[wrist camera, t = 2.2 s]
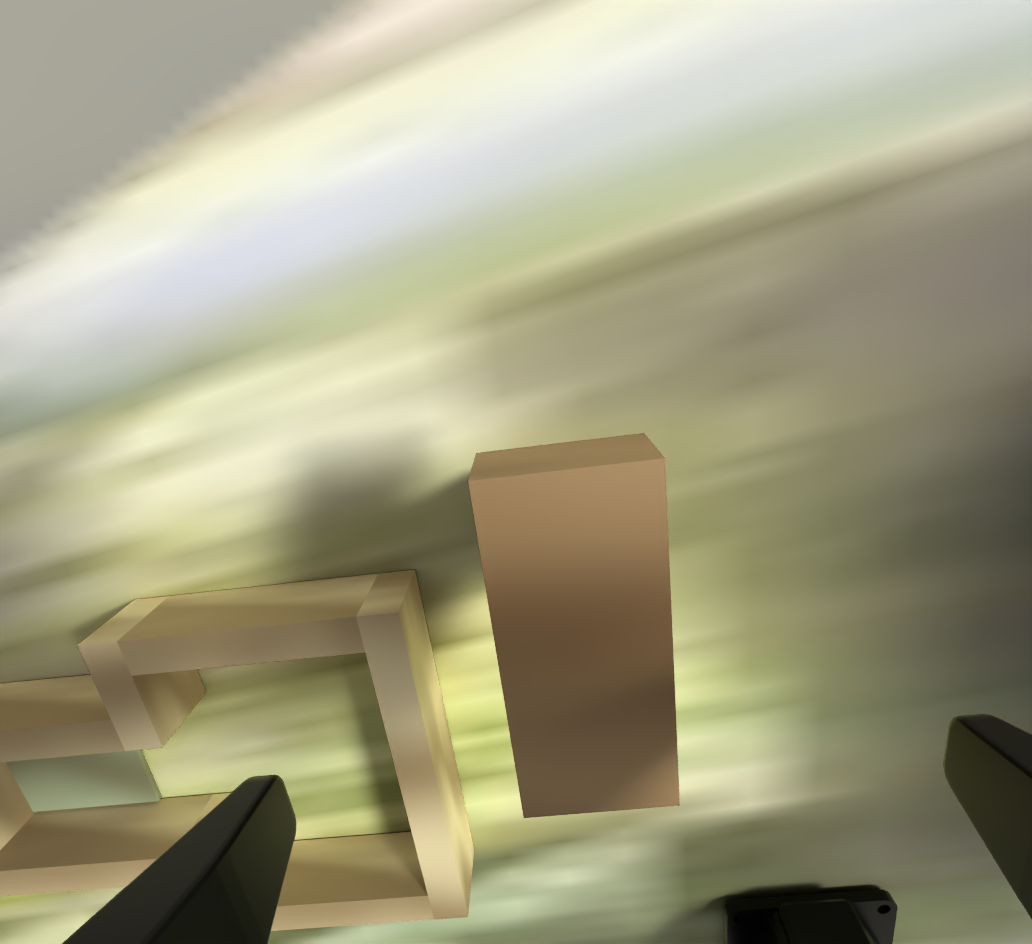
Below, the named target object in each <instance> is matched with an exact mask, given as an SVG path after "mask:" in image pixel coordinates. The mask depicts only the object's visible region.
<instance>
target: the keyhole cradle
mask: <svg viewBox="0 0 1032 944" xmlns="http://www.w3.org/2000/svg"><path fill="white" fill-rule="evenodd" d="M77 646H78V649H79V651H80V653H81V655H82V657H83V659H84V662H85V664H86V666H87V668H88V670H89V673H90V675H82V676H72V677H62V678H52V679H42V680H32V681H22V682H12V683H2V684H0V896H13V895H26V894H39V893H53V892H66V891H79V890H92V889H105V888H119V887H126V886H127V885H128V884H130V883H131V882H132V881H133V880H134V879H135V878H136V877H137V876H138V875H140V874H141V873H142V872H143V871H144V870H145V869H146V868H147V867H149V866H150V865H151V864H152V863H153V862H154V861H155V860H156V859H158V858H159V857H160V856H161V855H162V854H163V853H164V852H165V851H167V850H168V849H169V848H170V847H171V846H172V845H173V844H174V843H175V842H177V841H178V840H179V839H180V838H181V837H182V836H183V835H184V834H186V833H187V832H188V831H189V830H190V829H191V828H192V827H193V826H195V825H196V824H197V823H198V822H199V821H200V820H201V819H202V818H204V817H205V816H206V815H207V814H208V813H209V812H210V811H211V810H212V809H214V808H215V807H216V806H217V805H218V804H219V803H220V802H221V801H223V800H224V799H225V798H226V797H227V796H228V795H229V794H230V793H222V794H210V795H198V796H187V797H175V798H163V799H160V798H161V797H162V796H161V794H160V792H159V789H158V787H157V785H156V783H155V780H154V778H153V776H152V774H151V771H150V769H149V767H148V765H147V762H146V760H145V758H144V756H143V753H142V751H141V750H143V749H154V748H163V746H164V745H165V744H166V743H167V741H168V740H169V739H170V738H171V736H172V735H173V734H174V732H175V731H176V730H177V729H178V727H179V726H180V725H181V724H182V722H183V721H184V720H185V719H186V717H187V716H188V715H189V714H190V712H191V711H192V710H193V708H194V707H195V706H196V705H197V703H198V702H199V701H200V700H201V698H202V697H203V696H204V695H205V693H206V691H205V689H204V686H203V683H202V681H201V678H200V675H199V673H198V670H197V669H205V668H215V667H225V666H235V665H245V664H256V663H266V662H276V661H286V660H296V659H306V658H316V657H326V656H336V655H347V654H357V653H366V657H367V661H368V665H369V669H370V673H371V677H372V680H373V684H374V688H375V692H376V696H377V700H378V704H379V708H380V711H381V715H382V719H383V723H384V727H385V731H386V735H387V739H388V743H389V746H390V750H391V754H392V758H393V762H394V766H395V770H396V774H397V777H398V781H399V785H400V789H401V793H402V797H403V801H404V805H405V808H406V812H407V816H408V820H409V824H410V828H411V832H401V833H389V834H376V835H363V836H351V837H338V838H326V839H313V840H300V841H294V843H293V847H292V851H291V855H290V859H289V862H288V866H287V870H286V874H285V878H284V882H283V886H282V890H281V894H280V898H279V901H278V905H277V909H276V913H275V917H274V921H273V925H272V929H271V931H276V930H290V929H304V928H318V927H333V926H347V925H361V924H376V923H390V922H404V921H419V920H433V919H447V918H461V917H468V910H469V899H470V888H471V877H472V867H473V856H474V847H473V842H472V837H471V833H470V828H469V823H468V818H467V814H466V809H465V804H464V799H463V795H462V790H461V785H460V780H459V776H458V771H457V766H456V761H455V757H454V752H453V747H452V742H451V738H450V733H449V728H448V723H447V719H446V714H445V709H444V705H443V700H442V695H441V690H440V686H439V681H438V676H437V671H436V667H435V662H434V657H433V652H432V648H431V643H430V638H429V633H428V629H427V624H426V619H425V614H424V610H423V605H422V600H421V595H420V591H419V586H418V581H417V576H416V572H415V570H407V571H398V572H389V573H379V574H370V575H361V576H351V577H342V578H333V579H323V580H314V581H305V582H295V583H286V584H277V585H267V586H258V587H249V588H239V589H230V590H221V591H211V592H202V593H193V594H183V595H174V596H165V597H155V598H146V599H137V600H133V601H132V602H131V603H130V604H128V605H127V606H126V607H125V608H123V609H122V610H121V611H120V612H118V613H117V614H116V615H115V616H113V617H112V618H111V619H110V620H108V621H107V622H106V623H104V624H103V625H102V626H101V627H99V628H98V629H97V630H96V631H94V632H93V633H92V634H91V635H89V636H88V637H87V638H86V639H84V640H83V641H82V642H81V643H79V644H78V645H77Z"/></svg>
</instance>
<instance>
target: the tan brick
mask: <svg viewBox="0 0 1032 944" xmlns="http://www.w3.org/2000/svg"><path fill="white" fill-rule="evenodd" d="M468 484H469V490H470V496H471V502H472V508H473V514H474V520H475V526H476V532H477V538H478V544H479V550H480V556H481V562H482V568H483V574H484V580H485V586H486V593H487V599H488V605H489V611H490V617H491V623H492V629H493V635H494V641H495V647H496V653H497V659H498V665H499V671H500V677H501V683H502V689H503V695H504V701H505V707H506V713H507V719H508V725H509V731H510V737H511V743H512V749H513V755H514V761H515V767H516V773H517V779H518V785H519V791H520V798H521V804H522V810H523V816H524V818H530V817H542V816H555V815H567V814H579V813H592V812H604V811H617V810H629V809H641V808H654V807H666V806H679V805H680V803H679V779H678V756H677V732H676V709H675V685H674V662H673V638H672V614H671V591H670V567H669V544H668V520H667V496H666V473H665V458H664V457H663V455H662V454H661V453H660V452H659V451H658V449H657V448H656V447H655V446H654V445H653V443H652V442H651V441H650V440H649V439H648V437H647V436H646V435H645V434H644V433H641V434H633V435H624V436H616V437H607V438H599V439H591V440H582V441H574V442H565V443H557V444H549V445H540V446H532V447H523V448H515V449H506V450H498V451H490V452H481V453H476V456H475V459H474V463H473V466H472V469H471V473H470V476H469V479H468Z"/></svg>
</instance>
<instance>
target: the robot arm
mask: <svg viewBox="0 0 1032 944" xmlns="http://www.w3.org/2000/svg"><path fill="white" fill-rule="evenodd" d="M943 767H944V773H945V776H946V779H947V781H948V783H949V785H950V787H951V789H952V791H953V792H954V794H955V795H956V797H957V799H958V800H959V802H960V804H961V805H962V807H963V809H964V810H965V812H966V813H967V815H968V817H969V818H970V820H971V822H972V823H973V825H974V827H975V828H976V830H977V831H978V833H979V835H980V836H981V838H982V840H983V841H984V843H985V845H986V846H987V848H988V850H989V851H990V853H991V854H992V856H993V858H994V859H995V861H996V863H997V864H998V866H999V868H1000V869H1001V871H1002V872H1003V874H1004V876H1005V877H1006V879H1007V881H1008V882H1009V884H1010V886H1011V887H1012V889H1013V890H1014V892H1015V894H1016V895H1017V897H1018V899H1019V900H1020V902H1021V903H1022V905H1023V906H1024V908H1025V909H1026V911H1027V912H1028V914H1029V916H1030V917H1031V919H1032V735H1031V734H1029V733H1027V732H1025V731H1023V730H1021V729H1019V728H1017V727H1015V726H1013V725H1011V724H1009V723H1007V722H1005V721H1003V720H1001V719H999V718H996V717H994V716H991V715H987V714H977V715H965V716H957V717H954V718H953V719H952V720H951V722H950V724H949V729H948V735H947V742H946V748H945V755H944V761H943ZM295 834H296V818H295V814H294V811H293V808H292V805H291V802H290V799H289V796H288V793H287V790H286V788H285V785H284V782H283V780H282V779H281V778H280V777H279V776H278V775H267V776H255V777H251V778H249V779H247V780H245V781H244V782H243V783H242V784H241V785H239V786H238V787H237V788H236V789H235V790H234V791H233V792H232V793H230V794H229V795H228V796H227V797H226V798H225V799H224V800H223V801H221V802H220V803H219V804H218V805H217V806H216V807H215V808H214V809H212V810H211V811H210V812H209V813H208V814H207V815H206V816H205V817H204V818H202V819H201V820H200V821H199V822H198V823H197V824H196V825H195V826H193V827H192V828H191V829H190V830H189V831H188V832H187V833H186V834H184V835H183V836H182V837H181V838H180V839H179V840H178V841H177V842H175V843H174V844H173V845H172V846H171V847H170V848H169V849H168V850H167V851H165V852H164V853H163V854H162V855H161V856H160V857H159V858H158V859H156V860H155V861H154V862H153V863H152V864H151V865H150V866H149V867H147V868H146V869H145V870H144V871H143V872H142V873H141V874H140V875H138V876H137V877H136V878H135V879H134V880H133V881H132V882H131V883H130V884H128V885H127V886H126V887H125V888H124V889H123V890H122V891H121V892H119V893H118V894H117V895H116V896H115V897H114V898H113V899H112V900H110V901H109V902H108V903H107V904H106V905H105V906H104V907H103V908H101V909H100V910H99V911H98V912H97V913H96V914H95V915H94V916H92V917H91V918H90V919H89V920H88V921H87V922H86V923H85V924H84V925H82V926H81V927H80V928H79V929H78V930H77V931H76V932H75V933H73V934H72V935H71V936H70V937H69V938H68V939H67V940H66V941H64V942H63V943H62V944H268V940H269V937H270V933H271V929H272V925H273V921H274V917H275V913H276V909H277V905H278V901H279V898H280V894H281V890H282V886H283V882H284V878H285V874H286V870H287V866H288V862H289V859H290V855H291V851H292V847H293V843H294V839H295ZM896 913H897V905H896V903H895V902H894V900H893V898H892V897H891V895H890V894H889V893H888V891H885V890H865V891H851V892H837V893H822V894H808V895H794V896H779V897H765V898H751V899H736V900H731V901H730V902H728V903H727V904H726V905H725V906H724V944H892V942H893V935H894V928H895V920H896Z"/></svg>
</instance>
